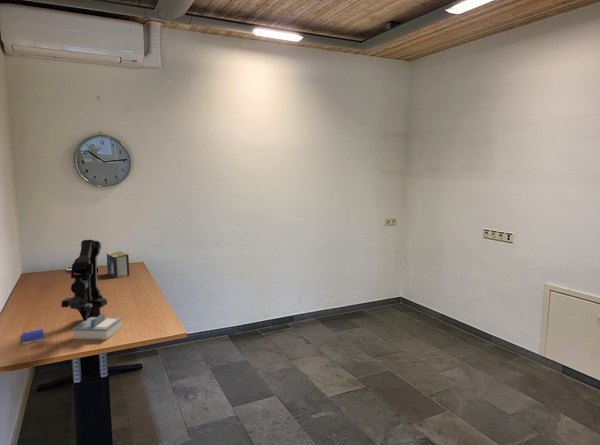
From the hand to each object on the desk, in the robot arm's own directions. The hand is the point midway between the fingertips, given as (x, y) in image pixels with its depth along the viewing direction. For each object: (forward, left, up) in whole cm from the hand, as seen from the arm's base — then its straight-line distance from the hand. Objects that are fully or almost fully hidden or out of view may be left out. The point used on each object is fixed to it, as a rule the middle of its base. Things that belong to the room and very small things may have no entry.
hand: (85, 320), depth 188 cm
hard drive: (+6, -21, -7) cm, 23 cm away
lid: (0, +6, -2) cm, 6 cm away
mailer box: (0, +6, -6) cm, 8 cm away
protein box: (-105, -36, -6) cm, 111 cm away
